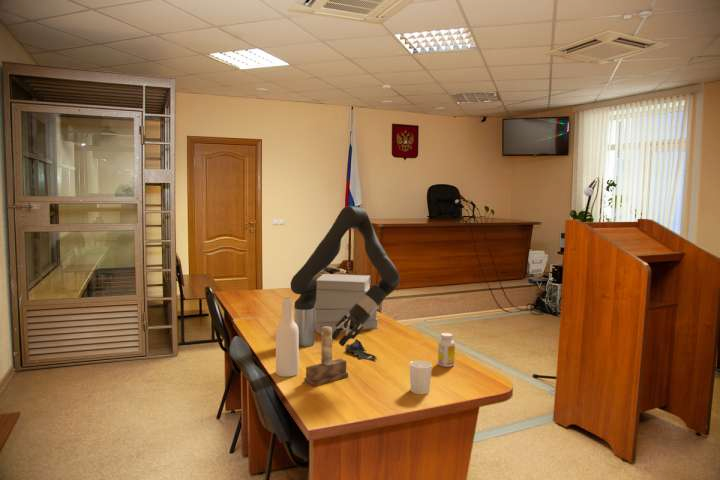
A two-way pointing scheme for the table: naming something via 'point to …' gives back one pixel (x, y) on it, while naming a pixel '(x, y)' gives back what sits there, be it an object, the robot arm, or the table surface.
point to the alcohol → (287, 342)
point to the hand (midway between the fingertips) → (336, 341)
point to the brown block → (326, 373)
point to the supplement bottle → (446, 350)
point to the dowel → (326, 346)
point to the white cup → (420, 377)
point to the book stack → (339, 299)
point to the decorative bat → (359, 350)
